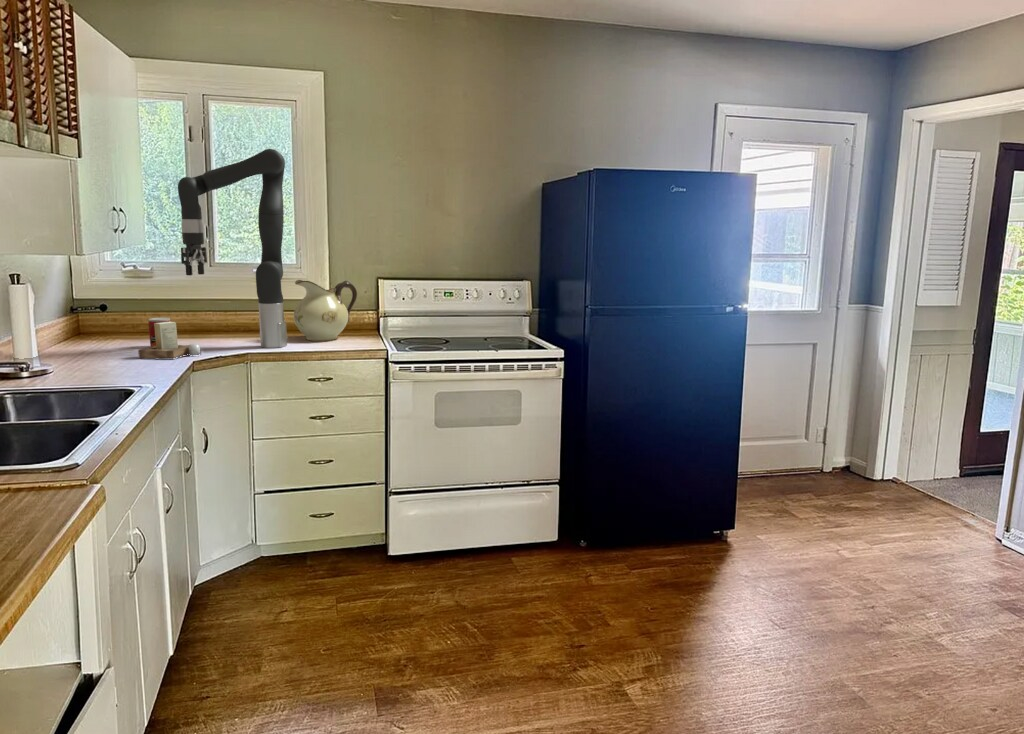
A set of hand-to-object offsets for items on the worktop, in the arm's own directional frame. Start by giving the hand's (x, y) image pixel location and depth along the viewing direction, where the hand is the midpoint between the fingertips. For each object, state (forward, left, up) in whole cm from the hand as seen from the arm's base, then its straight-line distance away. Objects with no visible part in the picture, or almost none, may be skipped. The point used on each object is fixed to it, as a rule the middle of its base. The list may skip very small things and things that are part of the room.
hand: (195, 274), depth 286 cm
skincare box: (+1, +21, -28) cm, 35 cm away
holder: (+1, +21, -28) cm, 35 cm away
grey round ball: (-8, +18, -28) cm, 34 cm away
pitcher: (-37, -33, -28) cm, 57 cm away
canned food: (+16, 0, -28) cm, 33 cm away
